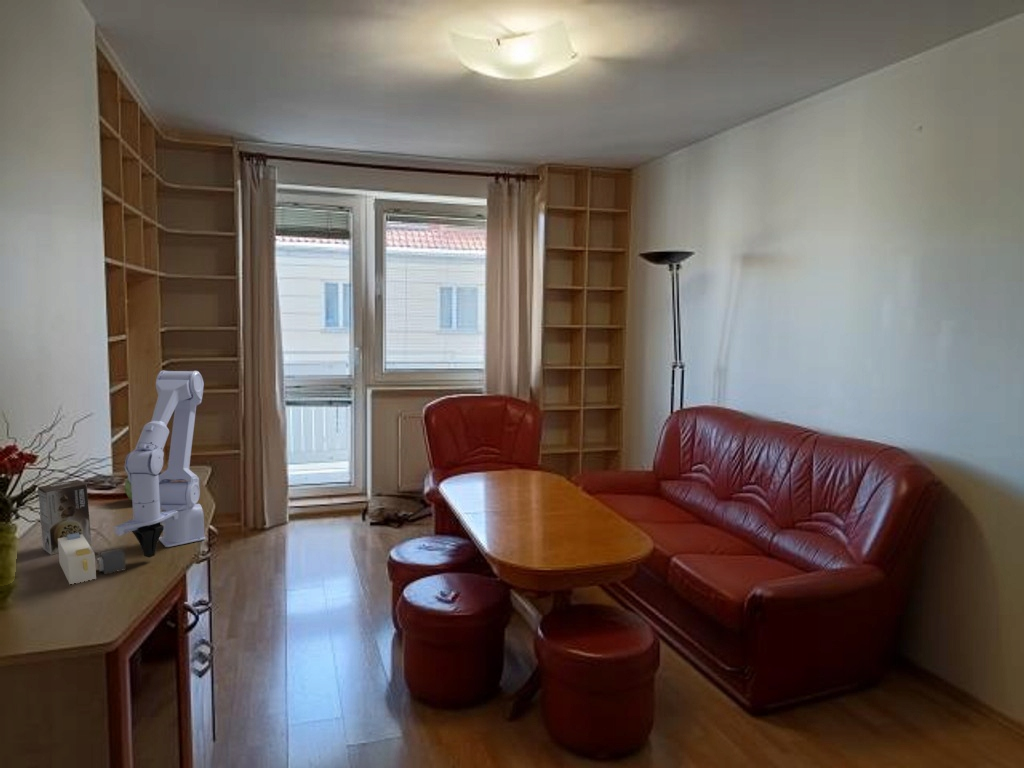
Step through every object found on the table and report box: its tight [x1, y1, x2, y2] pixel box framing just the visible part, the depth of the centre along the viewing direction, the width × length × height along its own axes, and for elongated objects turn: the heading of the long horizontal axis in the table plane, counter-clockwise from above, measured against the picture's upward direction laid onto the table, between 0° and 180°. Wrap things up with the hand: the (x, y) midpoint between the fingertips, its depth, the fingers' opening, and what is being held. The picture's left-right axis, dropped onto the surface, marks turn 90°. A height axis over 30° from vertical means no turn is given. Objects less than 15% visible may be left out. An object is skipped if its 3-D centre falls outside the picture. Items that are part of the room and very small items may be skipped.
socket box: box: [58, 533, 97, 585], centre depth 158 cm, size 5×19×7 cm, turn 40°
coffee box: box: [37, 479, 93, 556], centre depth 172 cm, size 9×6×16 cm
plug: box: [96, 548, 126, 575], centre depth 159 cm, size 5×4×4 cm
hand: (149, 555), depth 164 cm, fingers closed
